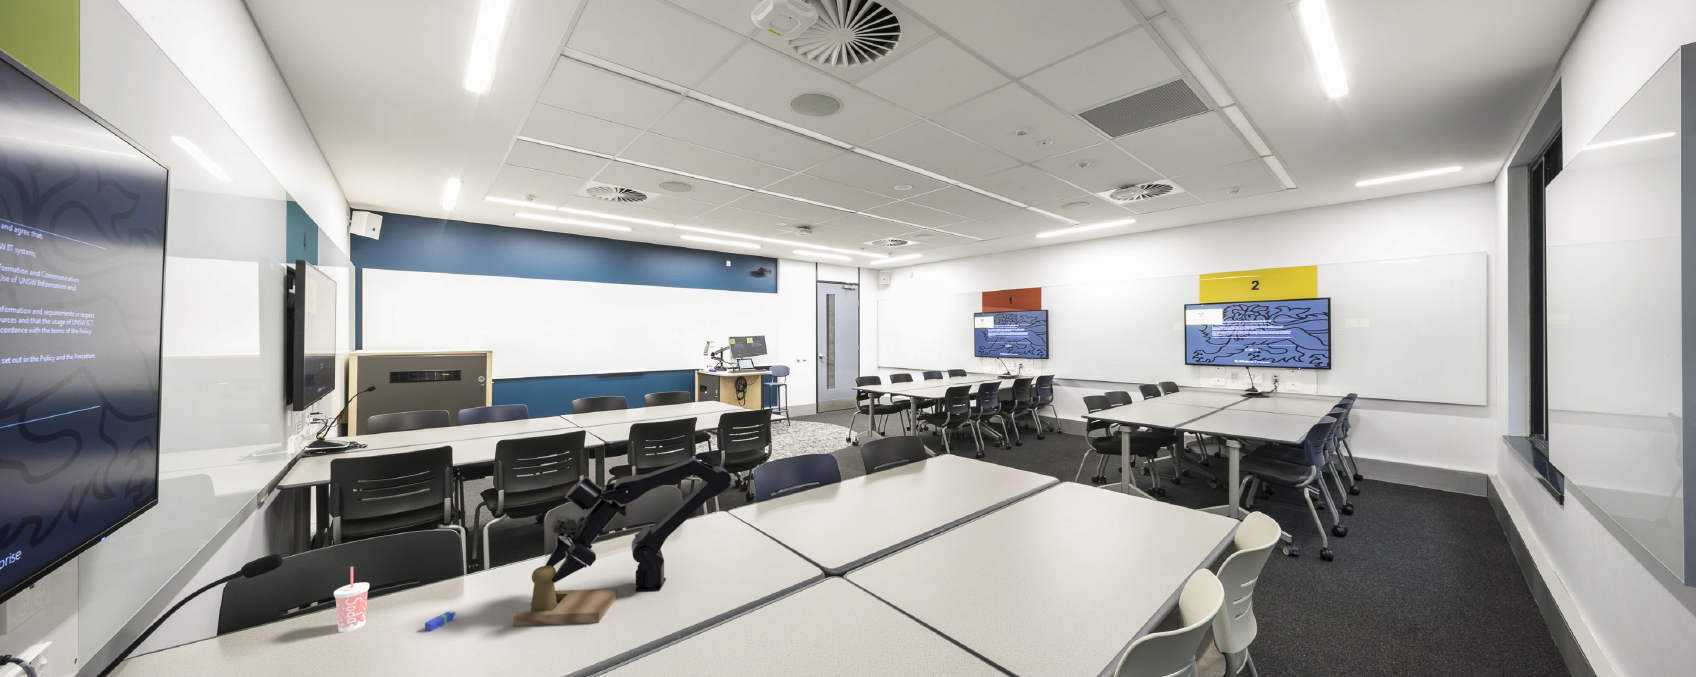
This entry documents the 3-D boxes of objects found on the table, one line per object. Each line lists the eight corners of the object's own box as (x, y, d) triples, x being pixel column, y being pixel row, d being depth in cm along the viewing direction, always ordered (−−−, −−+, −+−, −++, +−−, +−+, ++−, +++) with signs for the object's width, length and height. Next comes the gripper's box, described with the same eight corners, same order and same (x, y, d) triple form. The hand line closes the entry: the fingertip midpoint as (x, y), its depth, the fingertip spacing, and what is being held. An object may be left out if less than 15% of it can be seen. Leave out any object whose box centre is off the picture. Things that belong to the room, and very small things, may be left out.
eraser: (456, 618, 127) (456, 610, 127) (430, 632, 121) (430, 623, 121) (450, 617, 127) (450, 609, 127) (424, 630, 121) (424, 622, 121)
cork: (563, 608, 131) (563, 564, 131) (542, 620, 125) (542, 574, 125) (545, 604, 133) (545, 561, 133) (523, 616, 127) (523, 570, 127)
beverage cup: (329, 636, 119) (328, 574, 119) (339, 623, 124) (339, 564, 124) (364, 629, 122) (364, 569, 121) (373, 616, 127) (373, 559, 127)
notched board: (616, 597, 137) (616, 588, 137) (598, 622, 125) (598, 612, 125) (538, 600, 135) (538, 591, 135) (512, 626, 123) (512, 615, 123)
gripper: (564, 494, 141) (516, 546, 134) (581, 512, 126) (528, 571, 119) (596, 517, 146) (552, 568, 139) (615, 537, 131) (567, 595, 124)
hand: (549, 574), depth 130 cm, fingers open, 9 cm apart
